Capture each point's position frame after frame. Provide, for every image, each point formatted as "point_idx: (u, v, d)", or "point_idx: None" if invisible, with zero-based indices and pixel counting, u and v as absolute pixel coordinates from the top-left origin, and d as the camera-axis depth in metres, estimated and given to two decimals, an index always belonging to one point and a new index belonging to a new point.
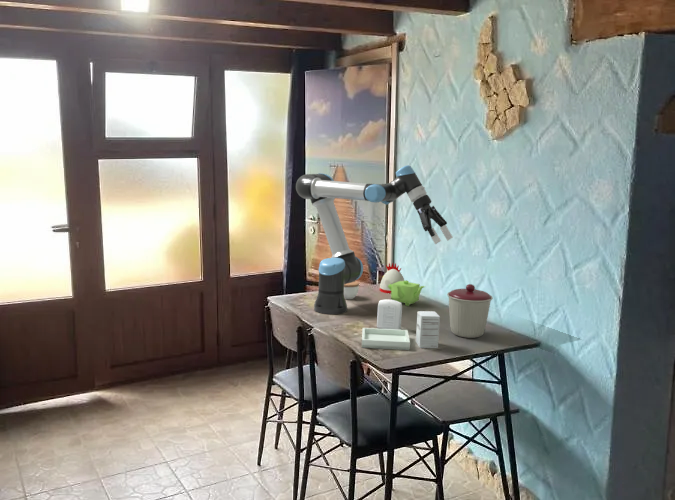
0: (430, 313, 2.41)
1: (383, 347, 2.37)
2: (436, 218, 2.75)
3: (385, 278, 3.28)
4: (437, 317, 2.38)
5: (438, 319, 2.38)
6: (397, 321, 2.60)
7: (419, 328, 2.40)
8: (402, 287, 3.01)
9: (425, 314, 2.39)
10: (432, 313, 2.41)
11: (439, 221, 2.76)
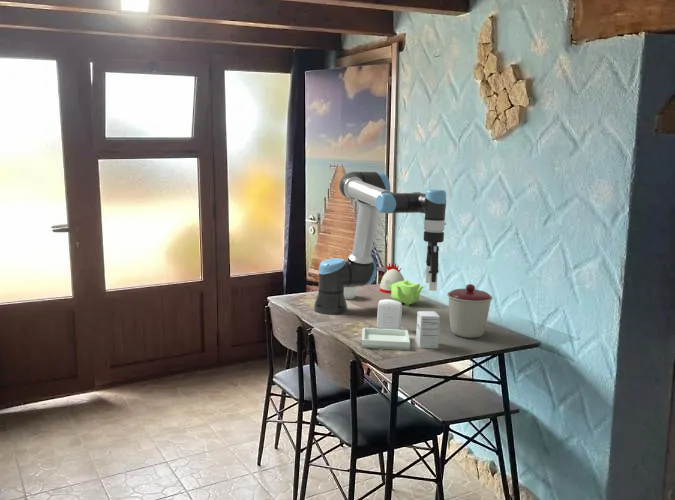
0: (430, 313, 2.41)
1: (383, 347, 2.37)
2: None
3: (385, 278, 3.28)
4: (437, 317, 2.38)
5: (438, 319, 2.38)
6: (397, 321, 2.60)
7: (419, 328, 2.40)
8: (402, 287, 3.01)
9: (425, 314, 2.39)
10: (432, 313, 2.41)
11: None
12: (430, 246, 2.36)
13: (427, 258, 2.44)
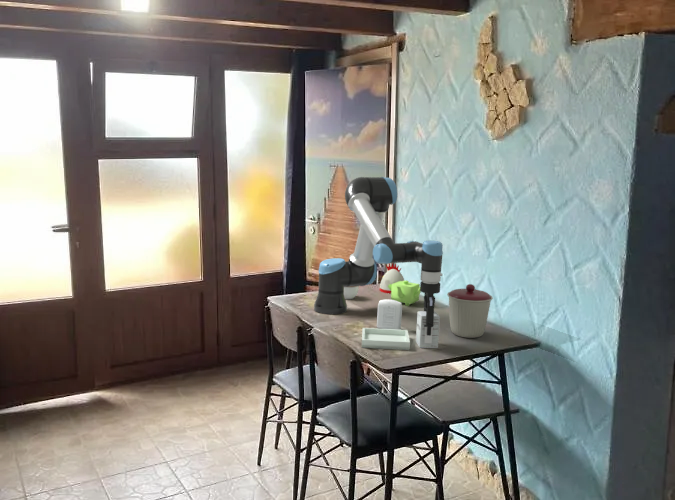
0: None
1: (383, 347, 2.37)
2: None
3: (385, 278, 3.28)
4: (437, 317, 2.38)
5: (438, 319, 2.38)
6: (397, 321, 2.60)
7: (419, 328, 2.40)
8: (402, 287, 3.01)
9: (425, 314, 2.39)
10: None
11: None
12: (426, 297, 2.38)
13: None
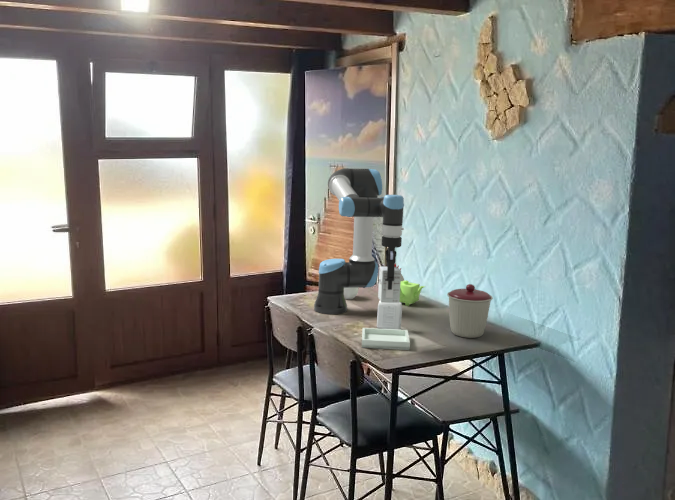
0: None
1: (383, 347, 2.37)
2: None
3: None
4: (398, 271, 2.37)
5: (399, 273, 2.37)
6: (397, 321, 2.60)
7: (380, 283, 2.39)
8: (402, 287, 3.01)
9: (386, 269, 2.38)
10: (394, 268, 2.40)
11: None
12: (388, 251, 2.37)
13: (386, 266, 2.44)
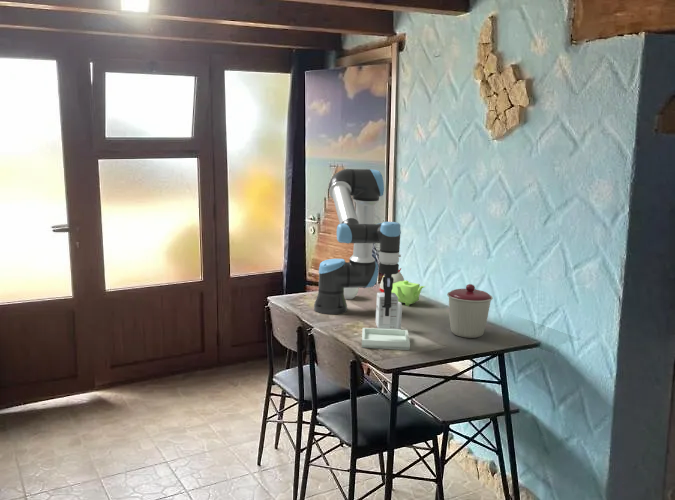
0: None
1: (383, 347, 2.37)
2: None
3: None
4: (395, 298, 2.38)
5: (397, 300, 2.38)
6: (397, 321, 2.60)
7: (378, 309, 2.40)
8: (402, 287, 3.01)
9: (383, 295, 2.39)
10: (391, 294, 2.42)
11: None
12: (385, 278, 2.39)
13: None
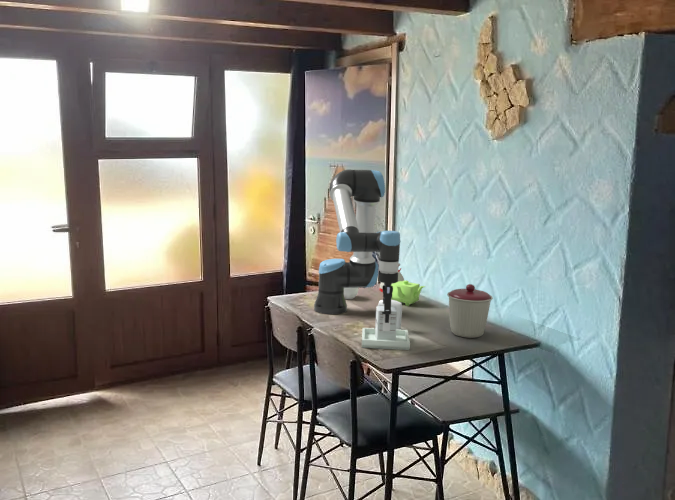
0: None
1: (383, 347, 2.37)
2: None
3: None
4: (394, 312, 2.39)
5: (395, 314, 2.39)
6: (397, 321, 2.60)
7: (377, 323, 2.41)
8: (402, 287, 3.01)
9: (382, 309, 2.40)
10: None
11: None
12: (384, 286, 2.40)
13: None
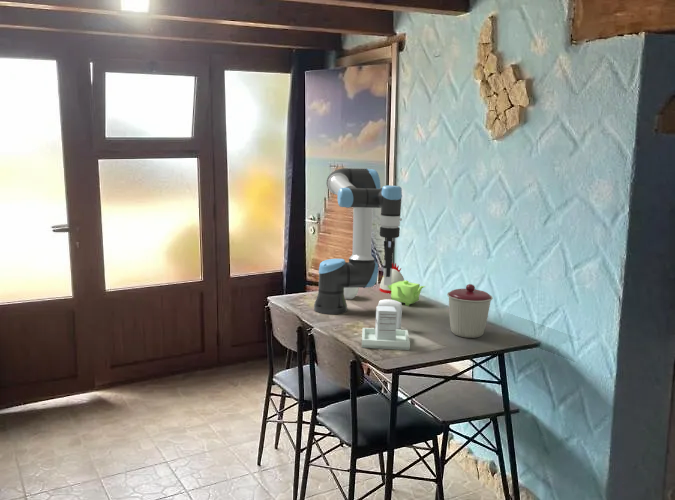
0: (388, 308, 2.42)
1: (383, 347, 2.37)
2: None
3: None
4: (394, 312, 2.39)
5: (395, 314, 2.39)
6: (397, 321, 2.60)
7: (377, 323, 2.41)
8: (402, 287, 3.01)
9: (382, 309, 2.40)
10: (390, 308, 2.42)
11: None
12: (386, 241, 2.40)
13: None
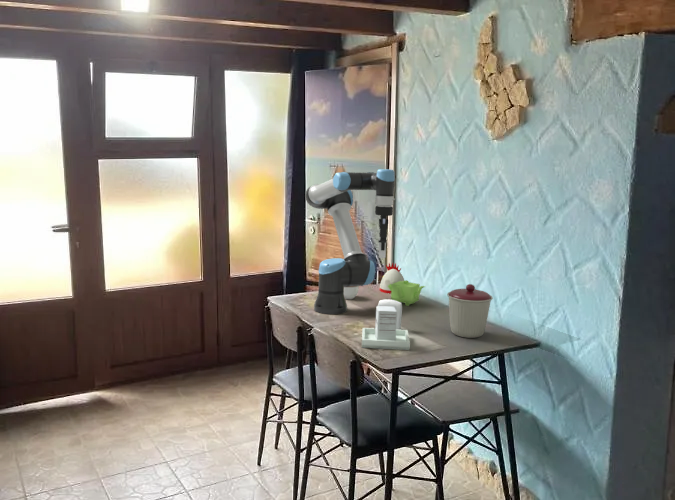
0: (388, 308, 2.42)
1: (383, 347, 2.37)
2: None
3: (385, 278, 3.28)
4: (394, 312, 2.39)
5: (395, 314, 2.39)
6: (397, 321, 2.60)
7: (377, 323, 2.41)
8: (402, 287, 3.01)
9: (382, 309, 2.40)
10: (390, 308, 2.42)
11: None
12: (381, 219, 2.68)
13: None
